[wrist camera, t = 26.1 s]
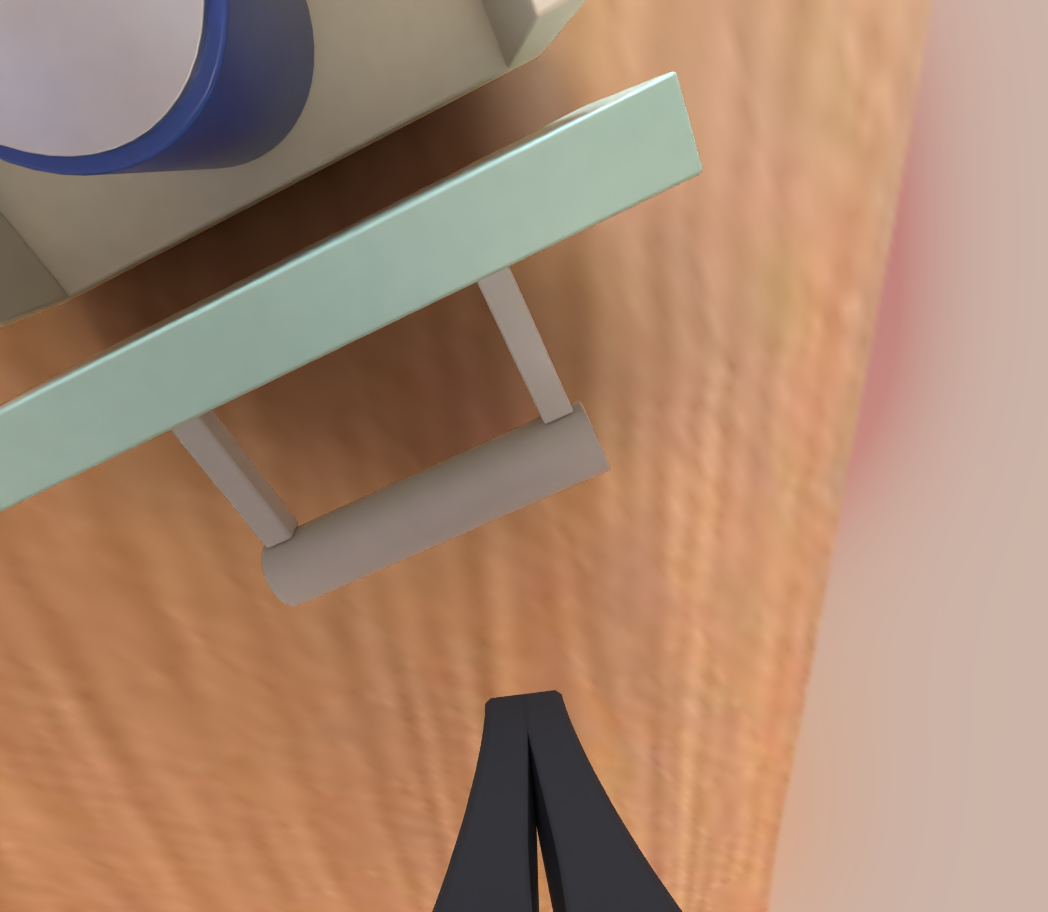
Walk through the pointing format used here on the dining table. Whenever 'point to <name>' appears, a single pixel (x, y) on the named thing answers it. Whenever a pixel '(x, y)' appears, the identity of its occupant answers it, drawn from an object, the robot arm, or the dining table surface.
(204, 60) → the can
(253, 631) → the dining table surface
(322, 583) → the drawer
